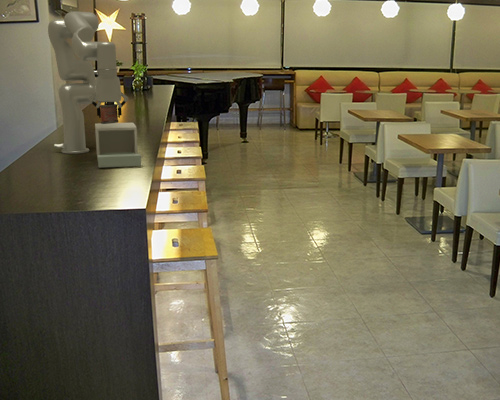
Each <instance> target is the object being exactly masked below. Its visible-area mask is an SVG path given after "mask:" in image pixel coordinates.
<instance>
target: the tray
mask: <svg viewBox="0 0 500 400" xmlns="http://www.w3.org/2000/svg"><path fill="white" fill-rule="evenodd" d="M97 165H98V168H100V169H101V168H117V167H119V168H121V167H123V168H124V167H140V166H142V155H141V153H138V154H134V152H119V153H101V155H98V160H97Z"/></svg>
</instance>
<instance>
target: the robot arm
mask: <svg viewBox="0 0 500 400" xmlns="http://www.w3.org/2000/svg"><path fill="white" fill-rule="evenodd" d="M99 22H100V21H99V19H98V16H97V15H96V14H95V13H94V12H90V11H75V10H74V11H69V12H67V13H66V14H65V15H64V18H56V19H53V20H51V21H49V22H48V25H47V34H48V39H49V41H50V44H51V46H52V48H53V50H54V54H55V55H54V56H55V61H56V66H57V71H58V72H57V73H58V76H59V78H60V80H62V81H65V82H73V83H65V84H62V85H60V86H59V89H58V98H59V102H60V107H61V113H62V115H61V116H62V117H61V118H62V127H63V142H62V143H54V149H61V153H62V154H67V155H68V154H69V155H73V154H74V155H77V154H85V153H89V151H90V149H89V147H86V131H85V115H84V112H83V110H82V109H81V108H80V107H79V105H87V104H89V105H90V104H92V105H93V106H94V107H95V108H96V115H97V117H98V118H99V119H101V107H100V105H102V102H104V103H105V102H106V103H107V102H115V104H118V106H117V112H118V118H119V119H120V118H121V116H122V115H123V114H122V108H123V107H124V106H125V104H126V103H127V102H128V101H129V96H127V95H126V94H125V93H123V92H122V89H121V82H120V81H121V80H120V78H119V76H118V73H117V69H118V68H117V48H116V44H115V43H114V42H111V41H107V42H106V41H92V40H93V39H94V37H95V33H96V32H97V30H98V29H99V24H100V23H99ZM66 39H69V40H70V39H71V44H70V42H68V41H67V40H66ZM76 57H78V59H77V58H76ZM90 61H97V70H94V66H93V64H92V63H91V62H90ZM95 75H97V76H95ZM74 82H76V83H74ZM78 82H81V83H78ZM122 98H124V99H123V100H122Z"/></svg>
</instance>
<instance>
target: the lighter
mask: <svg viewBox="0 0 500 400" xmlns="http://www.w3.org/2000/svg"><path fill="white" fill-rule="evenodd" d="M102 103H103V104H102ZM100 110H101V118H100V123H101V124H111V123H119V119H118V118H119V117H118V104H117V103H116V102H101V104H100Z"/></svg>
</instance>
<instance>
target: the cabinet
mask: <svg viewBox="0 0 500 400" xmlns="http://www.w3.org/2000/svg"><path fill="white" fill-rule="evenodd" d="M94 127H95V128H94V129H95V131H94V133H95V145H96V146H95V147H96V149H95V150H96V157H97V161H98V155H101V153H119V152H134V154H139V152H138V129H137V127H138V126H136V124H135V123H134V122H118V123H111V124H101V122H99V123H94Z"/></svg>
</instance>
